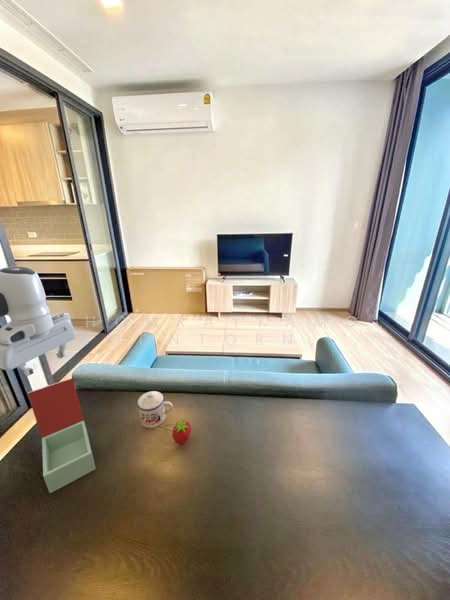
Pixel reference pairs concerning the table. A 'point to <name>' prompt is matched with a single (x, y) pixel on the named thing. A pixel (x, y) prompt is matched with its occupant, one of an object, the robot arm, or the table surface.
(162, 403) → the teacup with lid
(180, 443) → the strawberry
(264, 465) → the table surface
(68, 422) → the lid
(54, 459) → the box
